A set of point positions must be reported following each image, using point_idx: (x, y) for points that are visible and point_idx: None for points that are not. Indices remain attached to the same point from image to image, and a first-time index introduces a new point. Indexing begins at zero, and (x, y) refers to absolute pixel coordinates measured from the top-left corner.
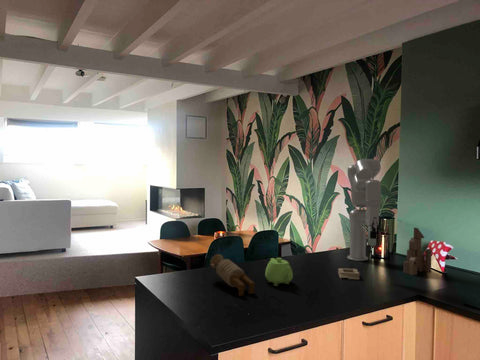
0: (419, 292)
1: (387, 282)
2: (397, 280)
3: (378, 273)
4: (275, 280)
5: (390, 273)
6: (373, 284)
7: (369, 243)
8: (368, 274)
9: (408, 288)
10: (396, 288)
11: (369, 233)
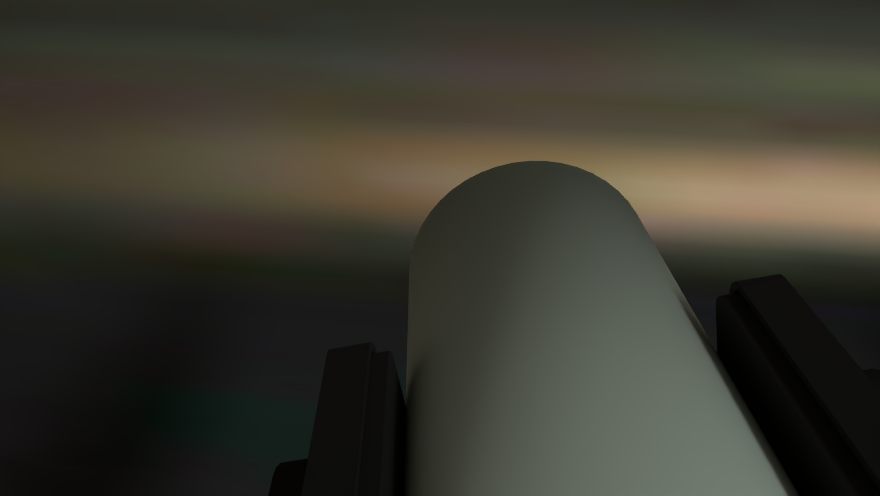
0: (15, 485)
1: (256, 230)
2: (392, 342)
3: (677, 150)
4: None
5: (704, 295)
6: (75, 51)
7: (445, 215)
8: (592, 5)
9: (108, 413)
10: (41, 304)
11: (471, 446)
